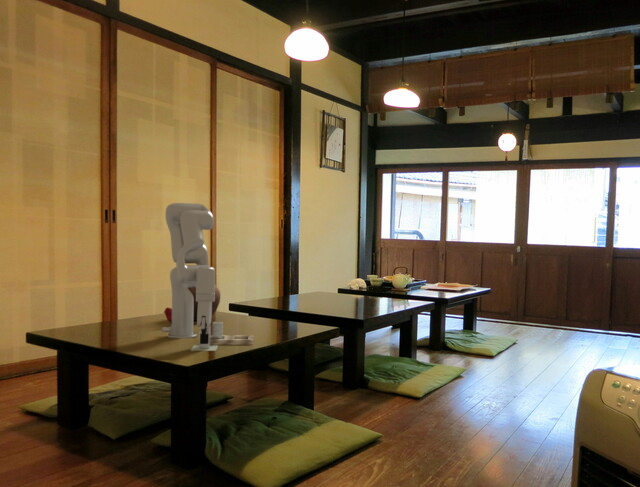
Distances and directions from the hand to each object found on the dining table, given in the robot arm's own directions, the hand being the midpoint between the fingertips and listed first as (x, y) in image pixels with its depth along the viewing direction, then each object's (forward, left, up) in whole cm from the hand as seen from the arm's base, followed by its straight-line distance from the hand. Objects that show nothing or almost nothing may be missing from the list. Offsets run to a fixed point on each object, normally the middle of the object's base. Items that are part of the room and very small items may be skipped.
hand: (204, 342), depth 219 cm
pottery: (-12, +72, -3) cm, 73 cm away
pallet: (+9, +11, -3) cm, 15 cm away
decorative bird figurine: (-19, +52, -3) cm, 55 cm away
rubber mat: (0, 0, -3) cm, 3 cm away
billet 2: (+4, +11, -3) cm, 12 cm away
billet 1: (0, 0, -2) cm, 2 cm away
